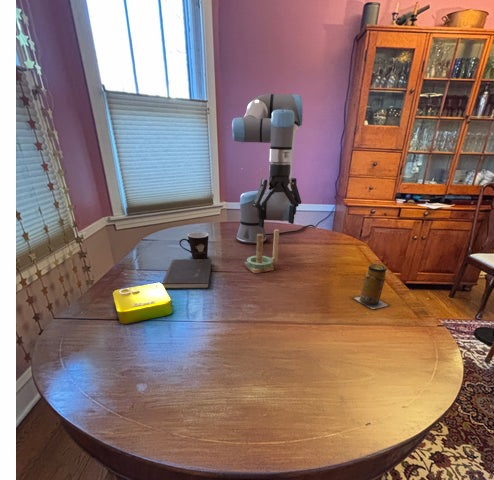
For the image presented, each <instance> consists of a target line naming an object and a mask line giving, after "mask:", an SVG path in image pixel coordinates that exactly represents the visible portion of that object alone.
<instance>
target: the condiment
mask: <svg viewBox="0 0 494 480" xmlns="http://www.w3.org/2000/svg"><path fill="white" fill-rule="evenodd" d="M386 272H387V267H386V266H385V265H381V264H376V263H375V264H370V265H369V266H368V269H367V272H366V273H365V276H364V278H363V279H364V280H363V282H362V288H361V291H360V292H361V293H360V296H356V297H353V299H354V300H356V301H357V302H359V303H361V304H362V305H364V306H366V307H367V308H370V309H371V310H375V309H380V308H383V307H388V306H389V304H388V303H385V302H384V301H382V300H380V299H381V297H382V292H383V288H384V285H385V281H386V274H387V273H386Z"/></svg>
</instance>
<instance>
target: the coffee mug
mask: <svg viewBox="0 0 494 480" xmlns="http://www.w3.org/2000/svg"><path fill="white" fill-rule="evenodd" d="M209 235H210V234H209V233H208V232H204V231H193V232H189V233H188V234H187V238H181V239H180V240H179V244H178V245H179V246H180V247H181V248H182V249H183V250H184V251H187V252H189V253H190V254H191V257H192V259H208V255H209V253H208V252H209ZM183 241H186V242H187V243H188V244H189V248H190V250H189V249H188V248H185V247H184V246H183V245H182V242H183Z"/></svg>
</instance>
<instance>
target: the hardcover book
mask: <svg viewBox="0 0 494 480" xmlns="http://www.w3.org/2000/svg"><path fill="white" fill-rule="evenodd" d="M212 262H213V258H211V259H210V258H207V259H193V258H192V259H189V258H187V259H185V258H184V259H183V258H182V259H172V261H171V263H170V265H169V267H168V269H167V271H166V274H165V276H164V278H163V280H162V282H161V284H162V285H163V286H164V288H165V289H166V290H209V289H210V283H211V275H212V267H213V264H212Z"/></svg>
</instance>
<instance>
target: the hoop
mask: <svg viewBox="0 0 494 480" xmlns="http://www.w3.org/2000/svg"><path fill="white" fill-rule="evenodd" d="M273 233H274V235H273V245H272V257H269V256H267V255H262V261H264V262H267V263H254V261H256V255H252V256H249V257H247V258H246V262H247V266H249V267H250V268H254V269H266V268H270V267H272V266H274V265H273V263H277V262H278V255H279V241H280V240H279V239H280V234H279V233H280V229H276V228H275V229H274V230H273Z"/></svg>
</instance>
